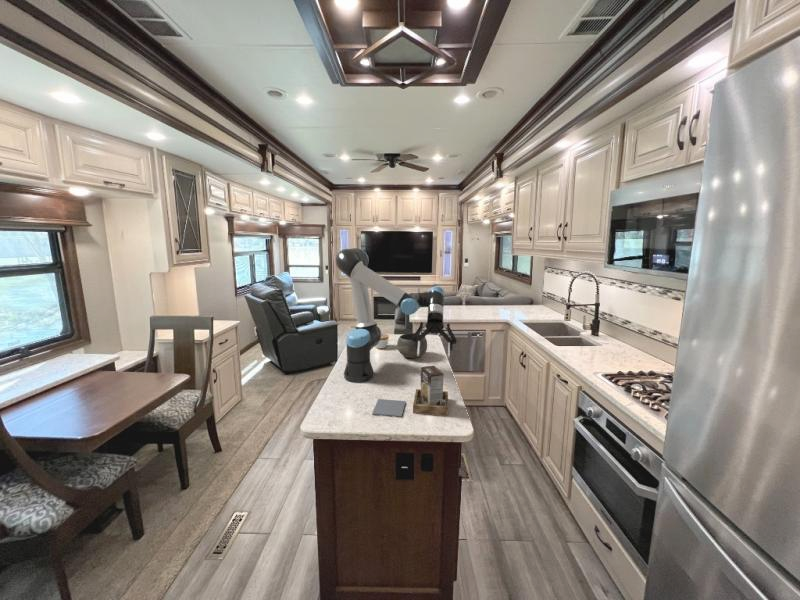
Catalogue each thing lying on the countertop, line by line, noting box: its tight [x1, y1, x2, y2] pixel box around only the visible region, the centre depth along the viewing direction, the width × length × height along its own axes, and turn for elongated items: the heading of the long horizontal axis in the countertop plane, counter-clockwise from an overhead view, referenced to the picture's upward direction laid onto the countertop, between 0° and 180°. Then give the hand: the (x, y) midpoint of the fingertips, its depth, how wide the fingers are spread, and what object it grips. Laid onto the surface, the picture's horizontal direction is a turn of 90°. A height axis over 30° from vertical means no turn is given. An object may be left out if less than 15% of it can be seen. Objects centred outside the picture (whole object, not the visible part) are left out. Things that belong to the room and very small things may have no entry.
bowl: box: [396, 332, 428, 359], centre depth 192 cm, size 18×18×13 cm
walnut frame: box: [412, 388, 449, 417], centre depth 137 cm, size 14×14×4 cm
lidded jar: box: [374, 333, 389, 350], centre depth 208 cm, size 11×11×9 cm
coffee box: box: [419, 365, 444, 406], centre depth 136 cm, size 9×6×16 cm
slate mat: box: [371, 398, 406, 418], centre depth 135 cm, size 12×12×1 cm
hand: (433, 356), depth 144 cm, fingers open, 13 cm apart
